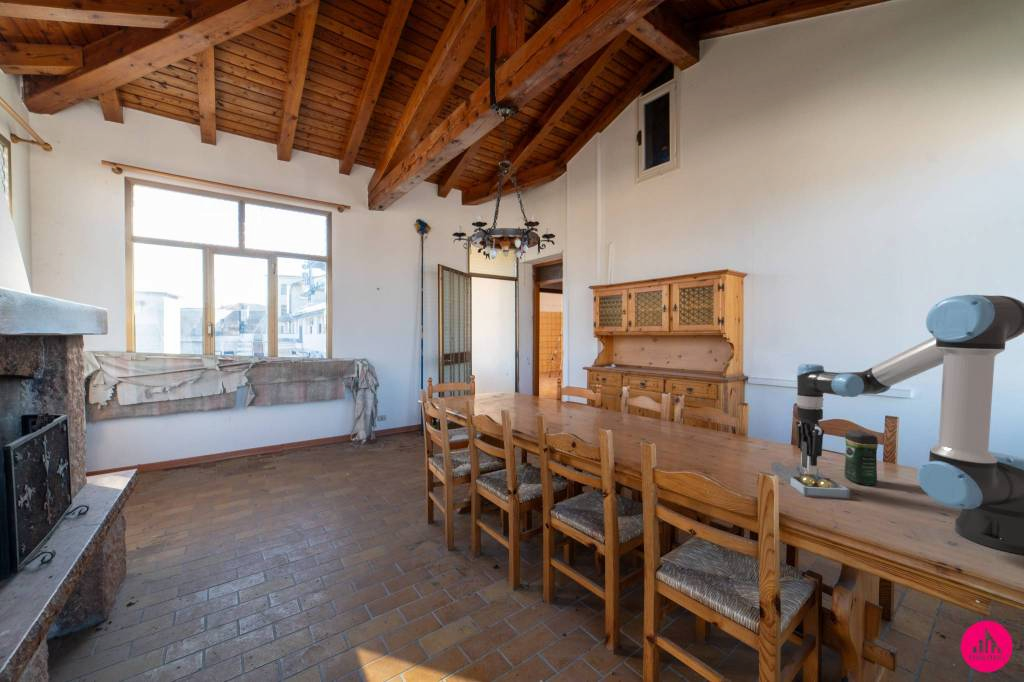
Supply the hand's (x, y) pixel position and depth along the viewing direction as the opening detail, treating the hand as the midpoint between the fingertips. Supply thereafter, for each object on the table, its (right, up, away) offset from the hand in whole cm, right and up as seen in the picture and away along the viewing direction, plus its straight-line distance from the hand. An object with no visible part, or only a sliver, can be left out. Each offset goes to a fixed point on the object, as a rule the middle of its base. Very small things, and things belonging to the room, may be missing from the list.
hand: (808, 471), depth 145 cm
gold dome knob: (0, -2, -6) cm, 6 cm away
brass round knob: (-3, -2, -3) cm, 4 cm away
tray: (-1, -5, -6) cm, 8 cm away
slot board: (+1, -5, +6) cm, 8 cm away
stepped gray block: (0, -2, 0) cm, 2 cm away
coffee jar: (+22, -5, +4) cm, 23 cm away
